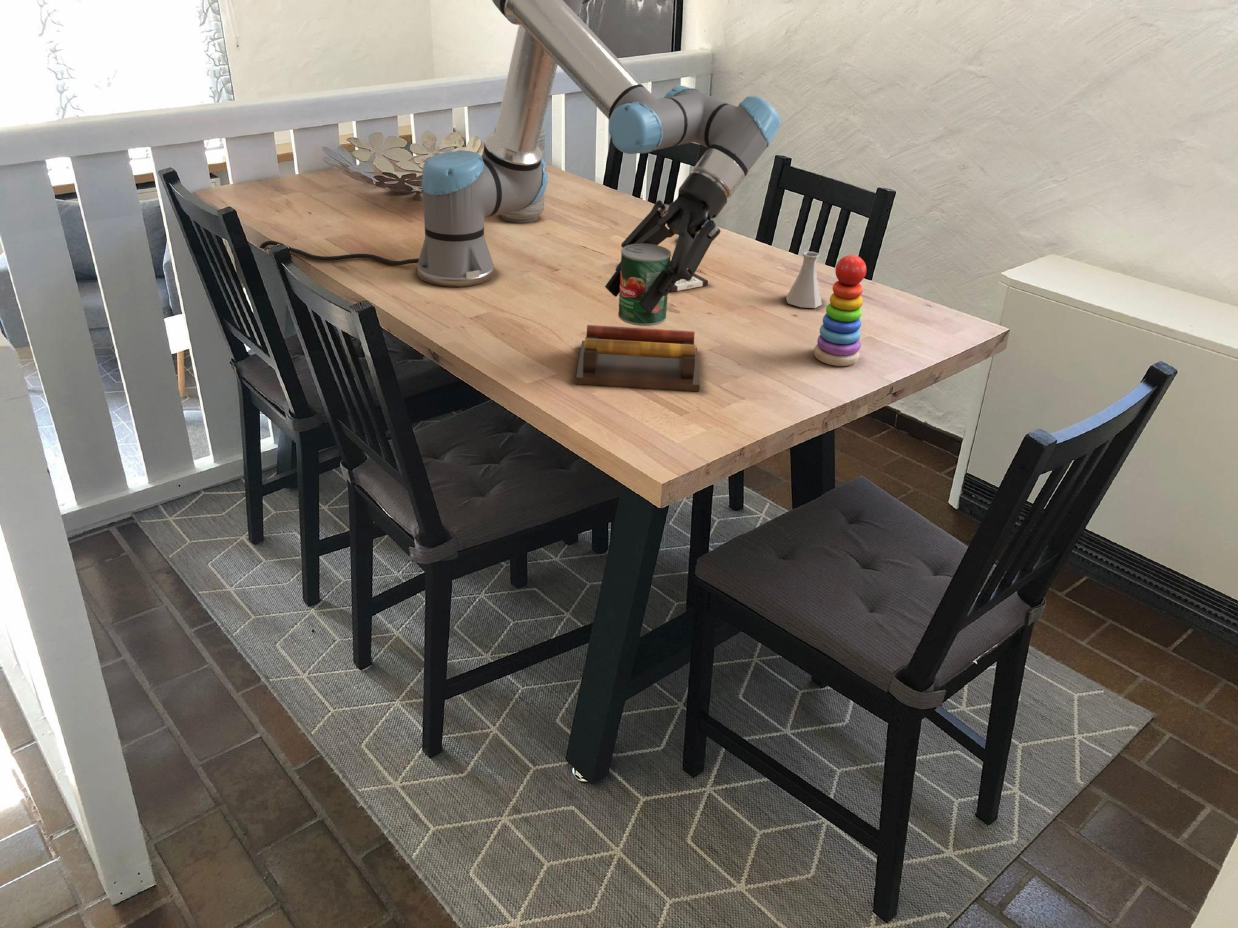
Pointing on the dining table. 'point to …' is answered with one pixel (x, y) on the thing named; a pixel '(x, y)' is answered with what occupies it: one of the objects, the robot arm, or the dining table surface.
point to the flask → (806, 284)
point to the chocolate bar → (689, 283)
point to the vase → (534, 210)
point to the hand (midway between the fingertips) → (627, 300)
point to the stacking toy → (843, 315)
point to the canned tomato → (641, 282)
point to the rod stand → (639, 358)
